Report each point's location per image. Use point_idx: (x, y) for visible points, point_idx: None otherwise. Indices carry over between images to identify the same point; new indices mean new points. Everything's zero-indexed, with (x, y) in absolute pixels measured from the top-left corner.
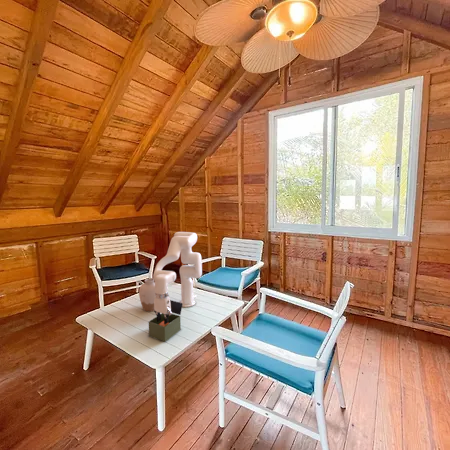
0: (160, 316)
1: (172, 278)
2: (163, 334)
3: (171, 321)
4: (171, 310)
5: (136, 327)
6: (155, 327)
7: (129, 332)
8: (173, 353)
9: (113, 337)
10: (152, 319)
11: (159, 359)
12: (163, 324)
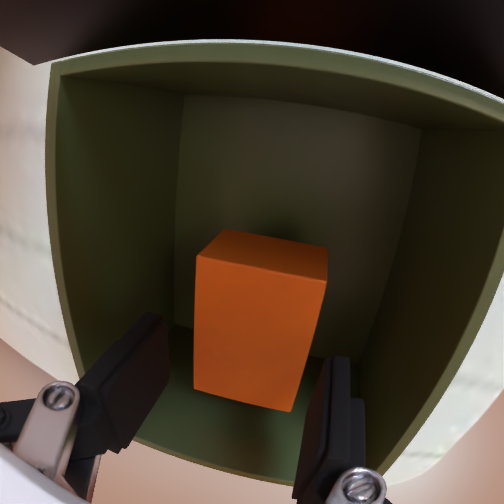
0: (131, 374)
1: None
2: None
3: (278, 93)
4: (195, 3)
5: (27, 243)
6: (218, 429)
7: (43, 307)
8: (458, 428)
9: (36, 359)
10: None
11: (390, 472)
12: (269, 355)
